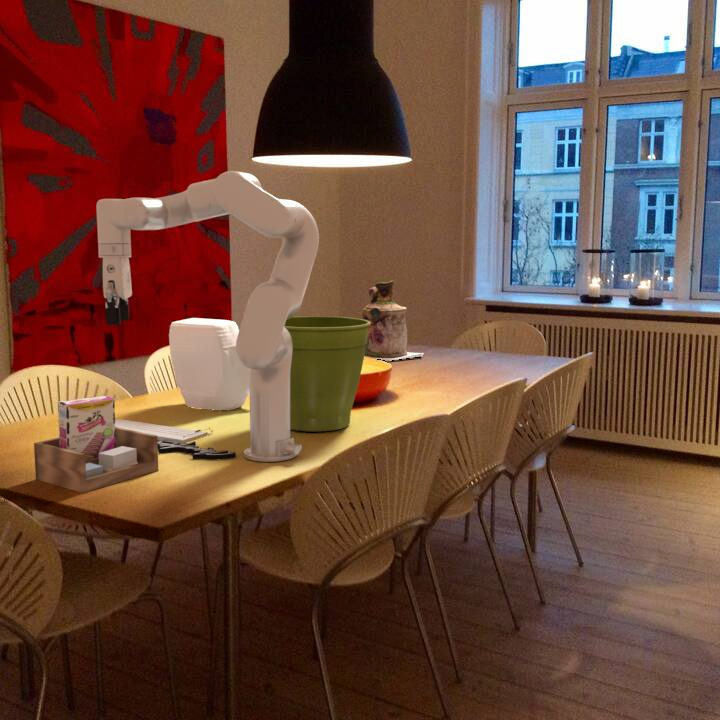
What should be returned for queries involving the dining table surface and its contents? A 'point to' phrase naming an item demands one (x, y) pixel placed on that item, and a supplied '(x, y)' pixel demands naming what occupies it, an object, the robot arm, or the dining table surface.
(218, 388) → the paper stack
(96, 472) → the offcut
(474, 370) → the dining table surface
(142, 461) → the wooden divided box
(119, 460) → the offcut
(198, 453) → the nameplate
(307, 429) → the plant pot
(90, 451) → the candy bar box
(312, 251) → the robot arm
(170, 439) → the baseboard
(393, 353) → the cookie jar
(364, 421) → the dining table surface
